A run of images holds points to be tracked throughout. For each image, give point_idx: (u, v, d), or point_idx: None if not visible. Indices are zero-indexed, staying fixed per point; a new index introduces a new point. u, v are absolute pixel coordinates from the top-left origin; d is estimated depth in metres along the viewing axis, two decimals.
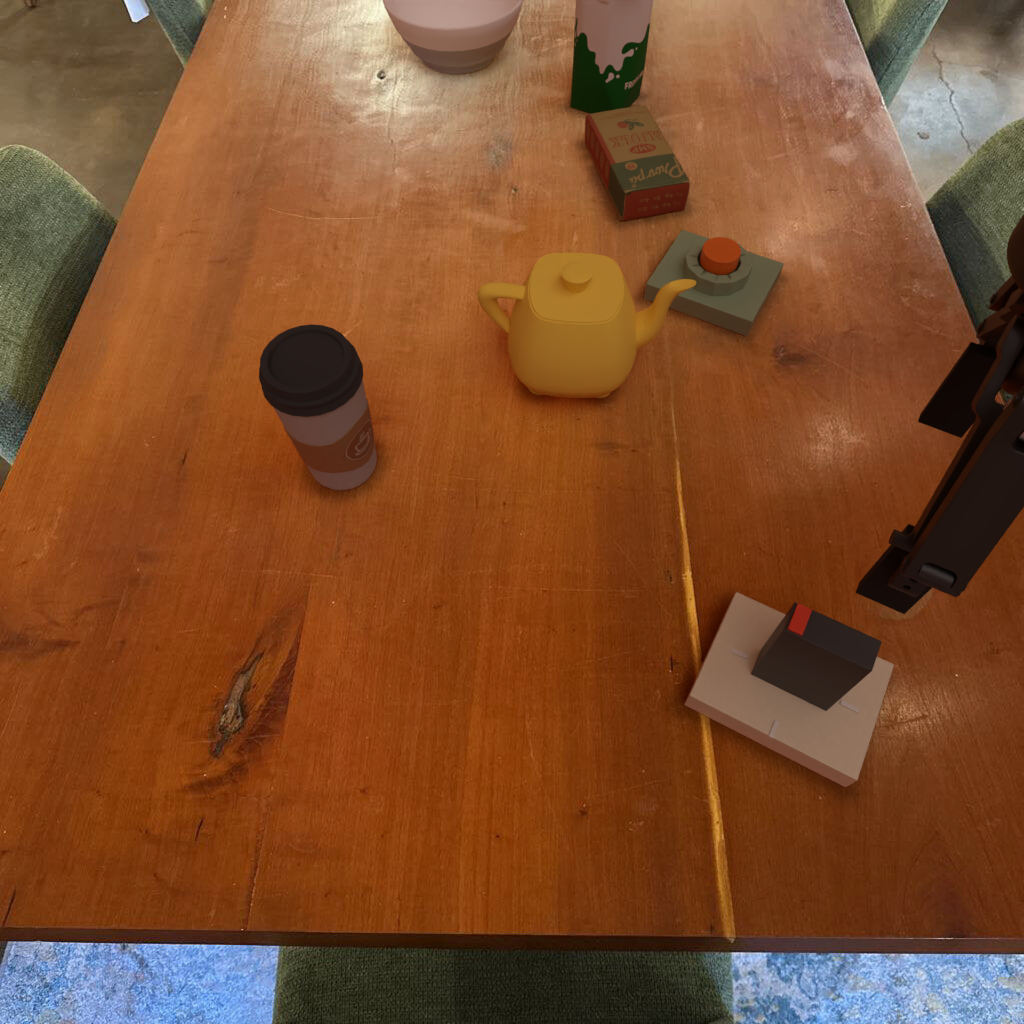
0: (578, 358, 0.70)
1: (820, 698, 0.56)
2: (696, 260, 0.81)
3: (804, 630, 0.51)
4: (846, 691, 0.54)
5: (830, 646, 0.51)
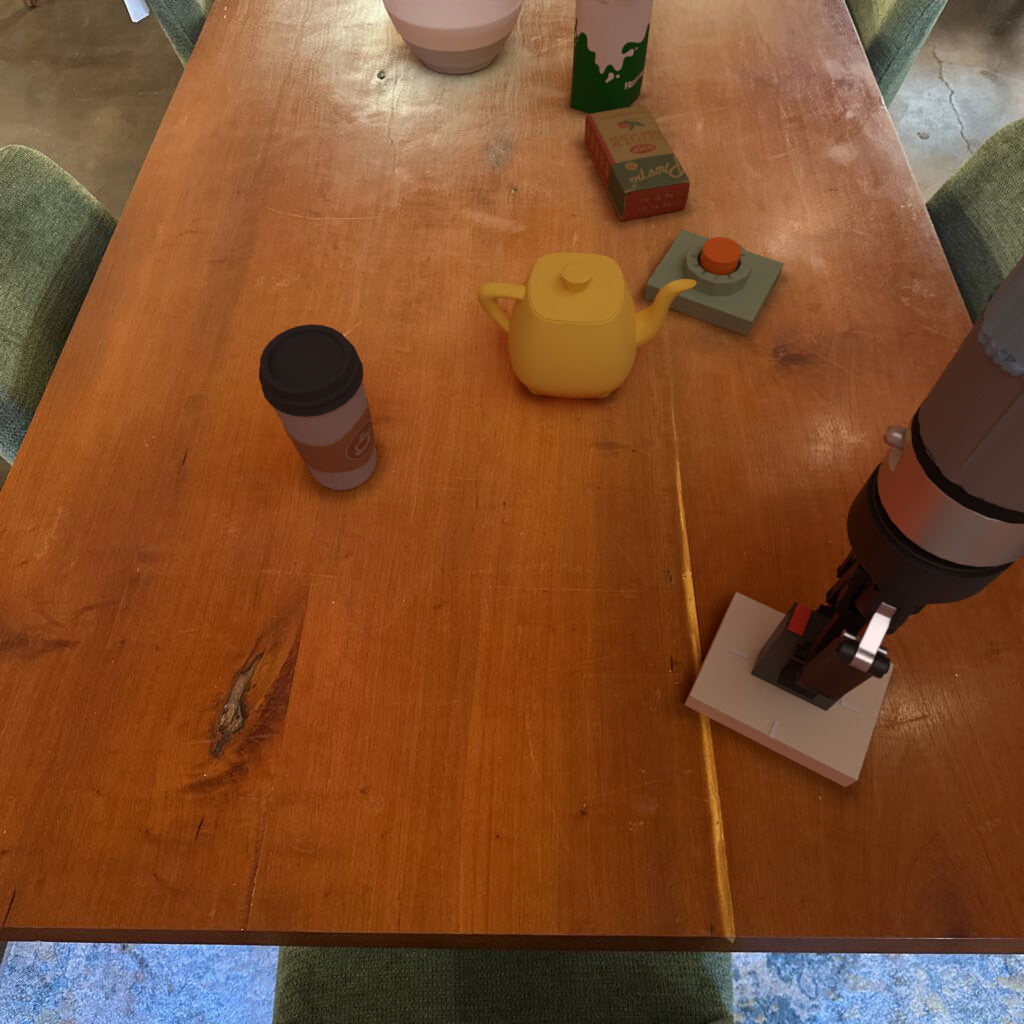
0: (578, 358, 0.70)
1: (820, 698, 0.56)
2: (696, 260, 0.81)
3: (804, 630, 0.51)
4: None
5: None
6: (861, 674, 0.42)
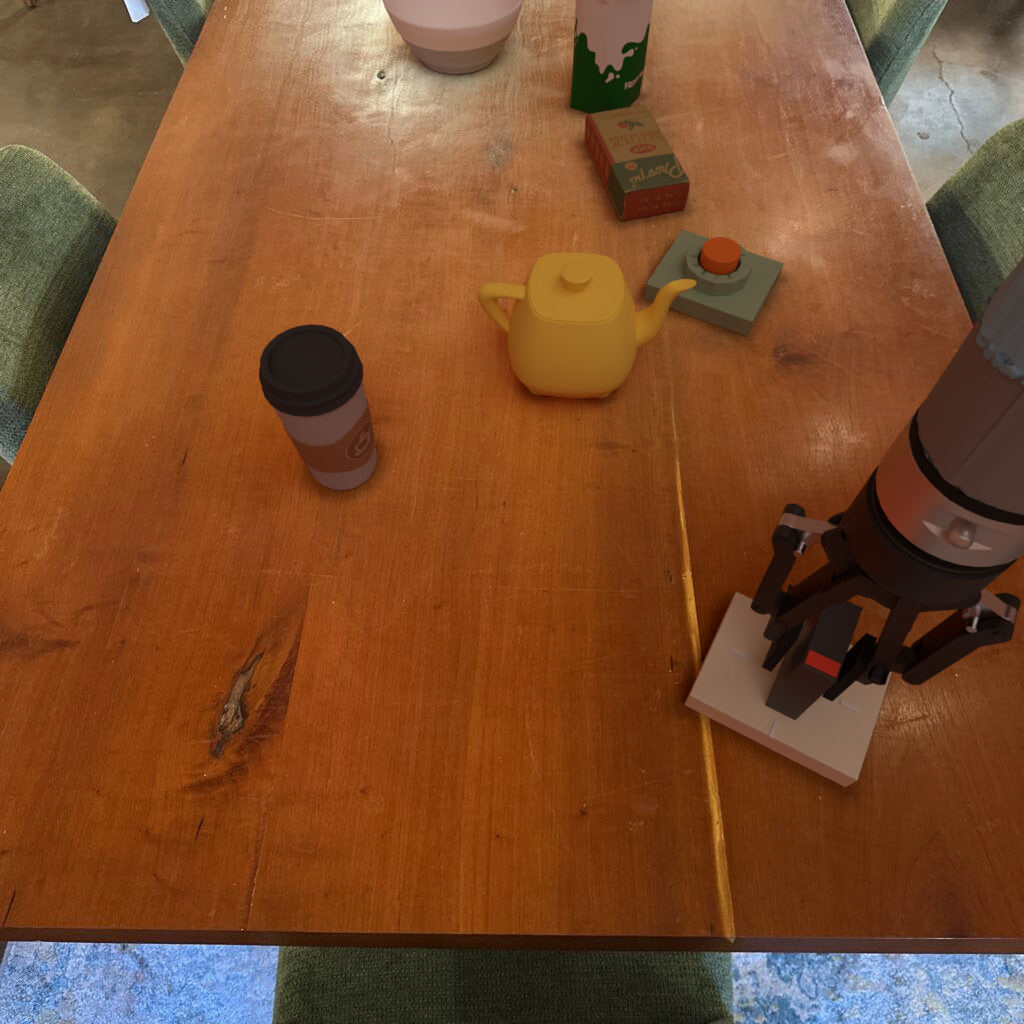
0: (578, 358, 0.70)
1: None
2: (696, 260, 0.81)
3: (834, 661, 0.50)
4: None
5: (844, 640, 0.51)
6: None
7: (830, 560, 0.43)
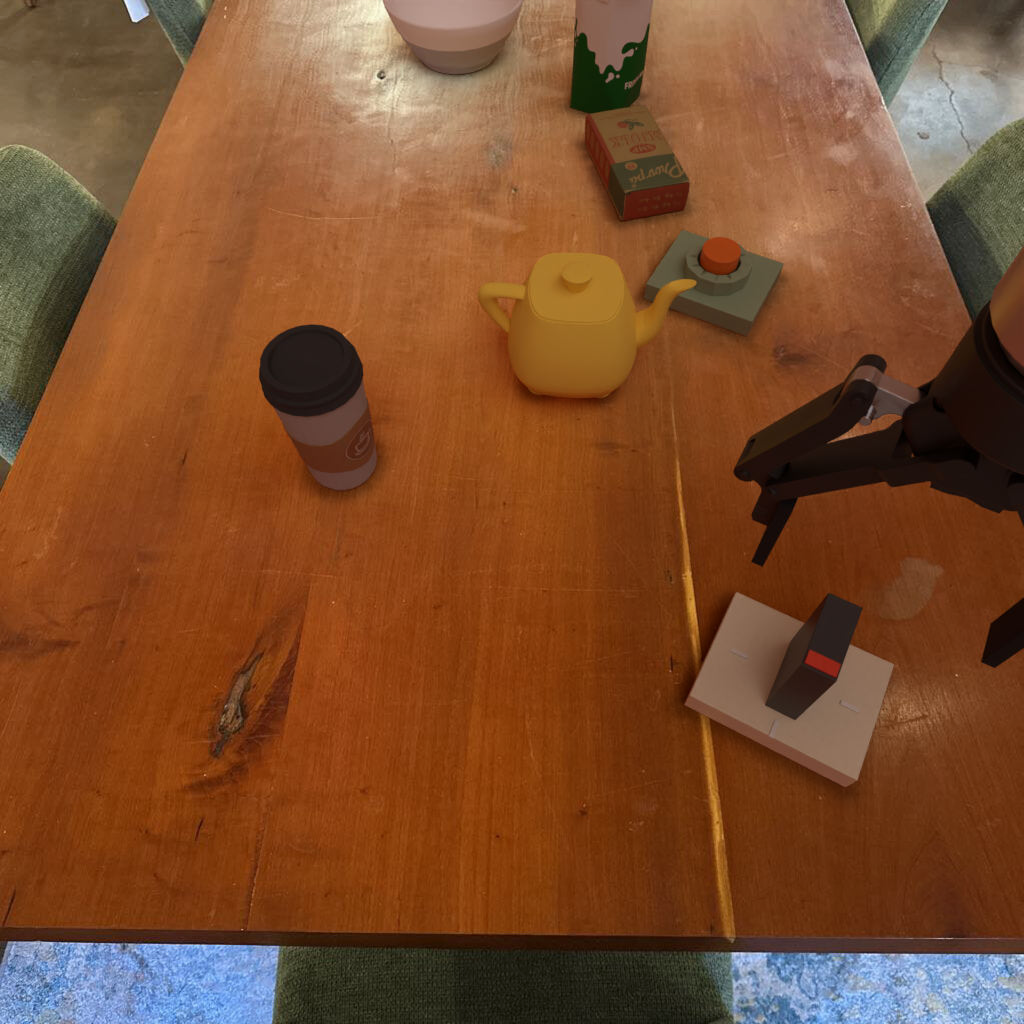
0: (578, 358, 0.70)
1: None
2: (696, 260, 0.81)
3: (834, 661, 0.50)
4: None
5: (844, 640, 0.51)
6: None
7: (913, 446, 0.34)
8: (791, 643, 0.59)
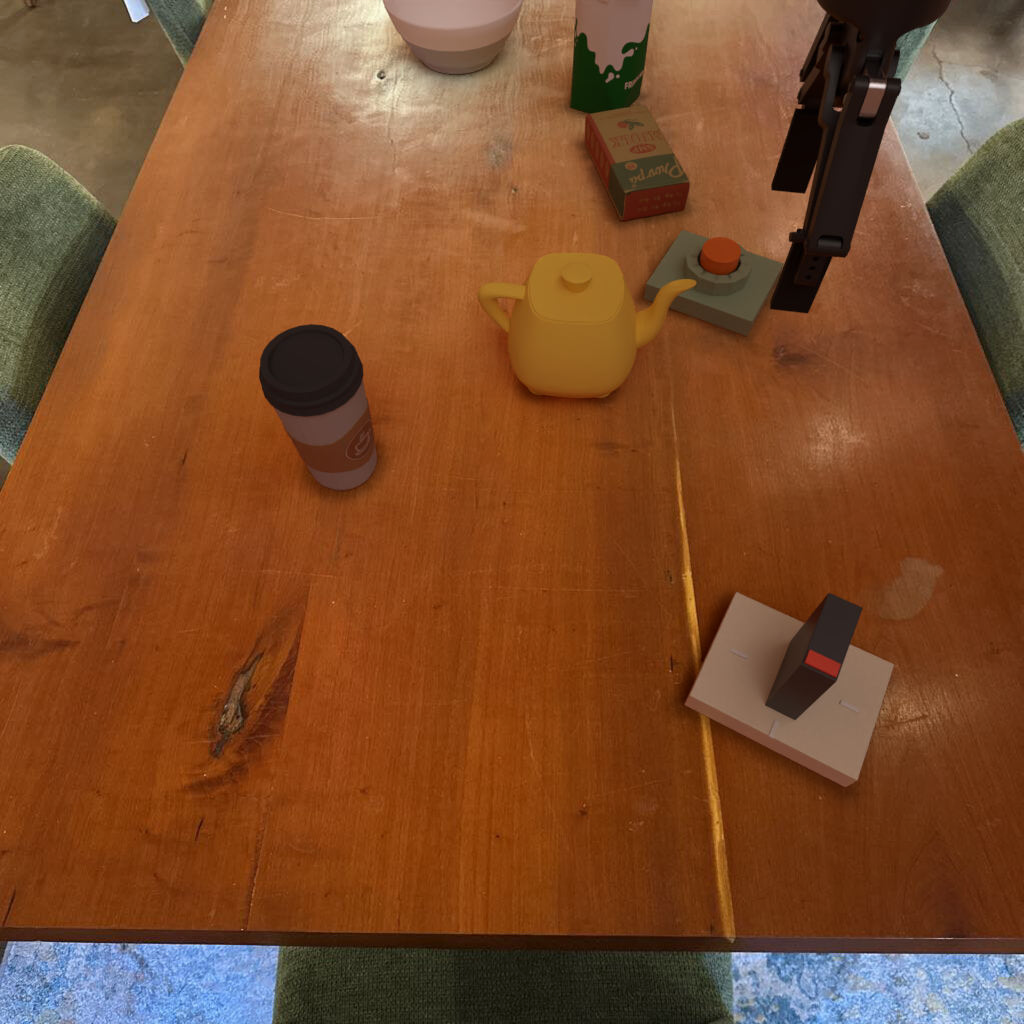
0: (578, 358, 0.70)
1: None
2: (696, 260, 0.81)
3: (834, 661, 0.50)
4: None
5: (844, 640, 0.51)
6: (874, 135, 0.43)
7: None
8: (791, 643, 0.59)
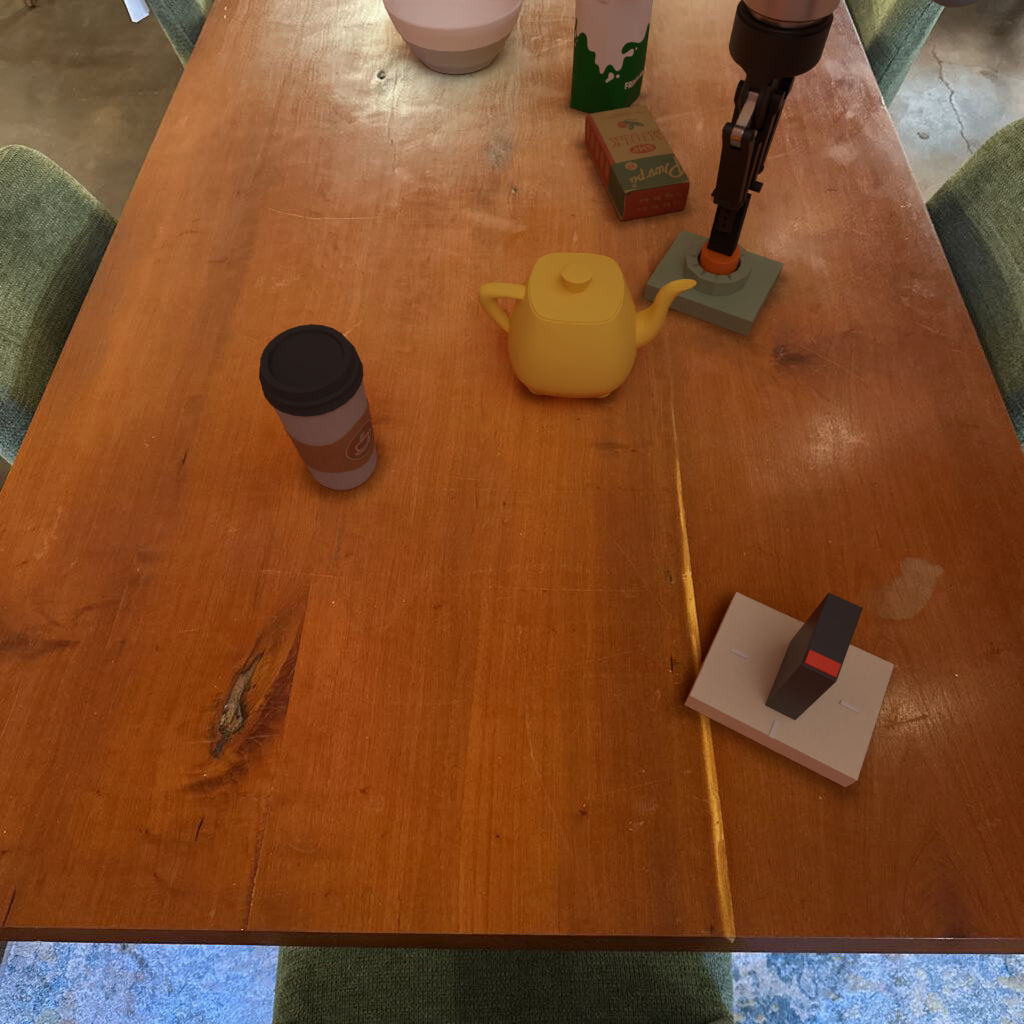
0: (578, 358, 0.70)
1: None
2: (696, 260, 0.81)
3: (834, 661, 0.50)
4: None
5: (844, 640, 0.51)
6: (742, 156, 0.66)
7: None
8: (791, 643, 0.59)
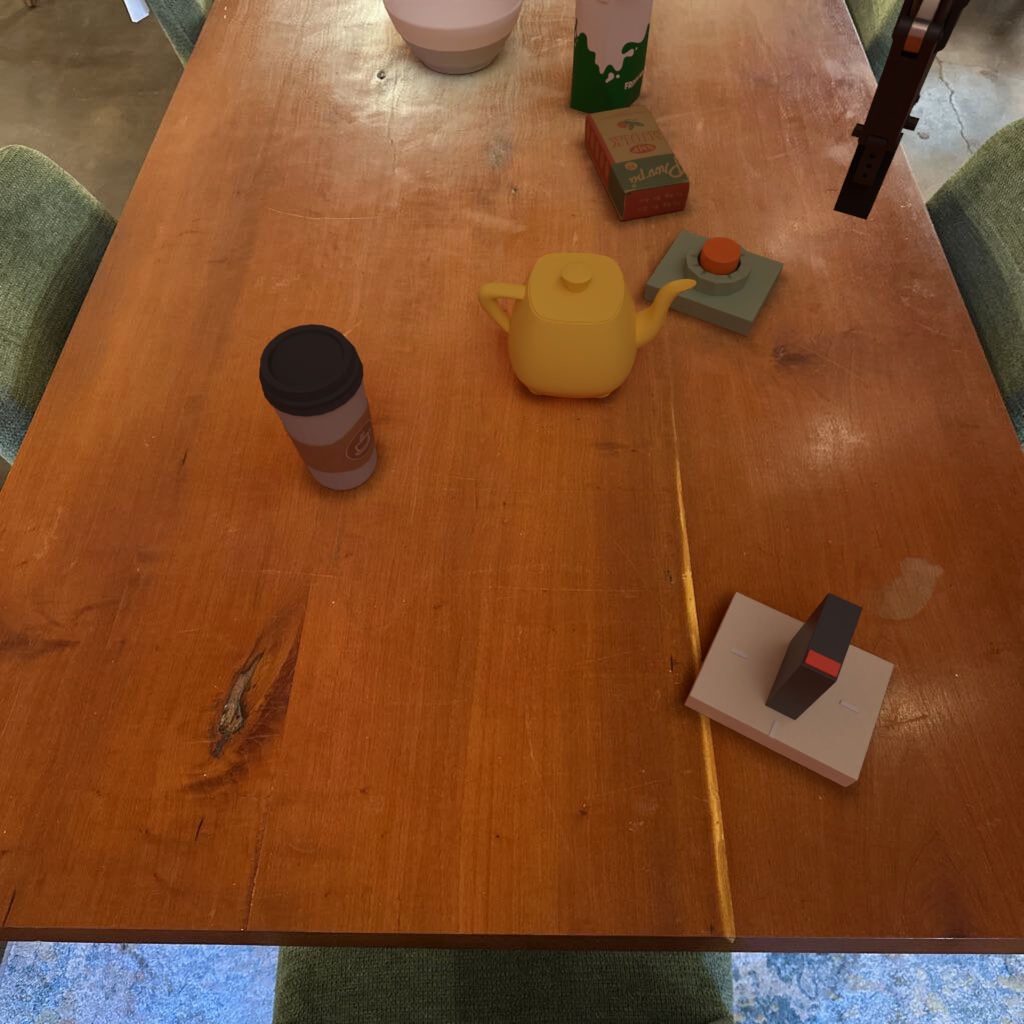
0: (578, 358, 0.70)
1: None
2: (696, 260, 0.81)
3: (834, 661, 0.50)
4: None
5: (844, 640, 0.51)
6: (917, 67, 0.48)
7: None
8: (791, 643, 0.59)
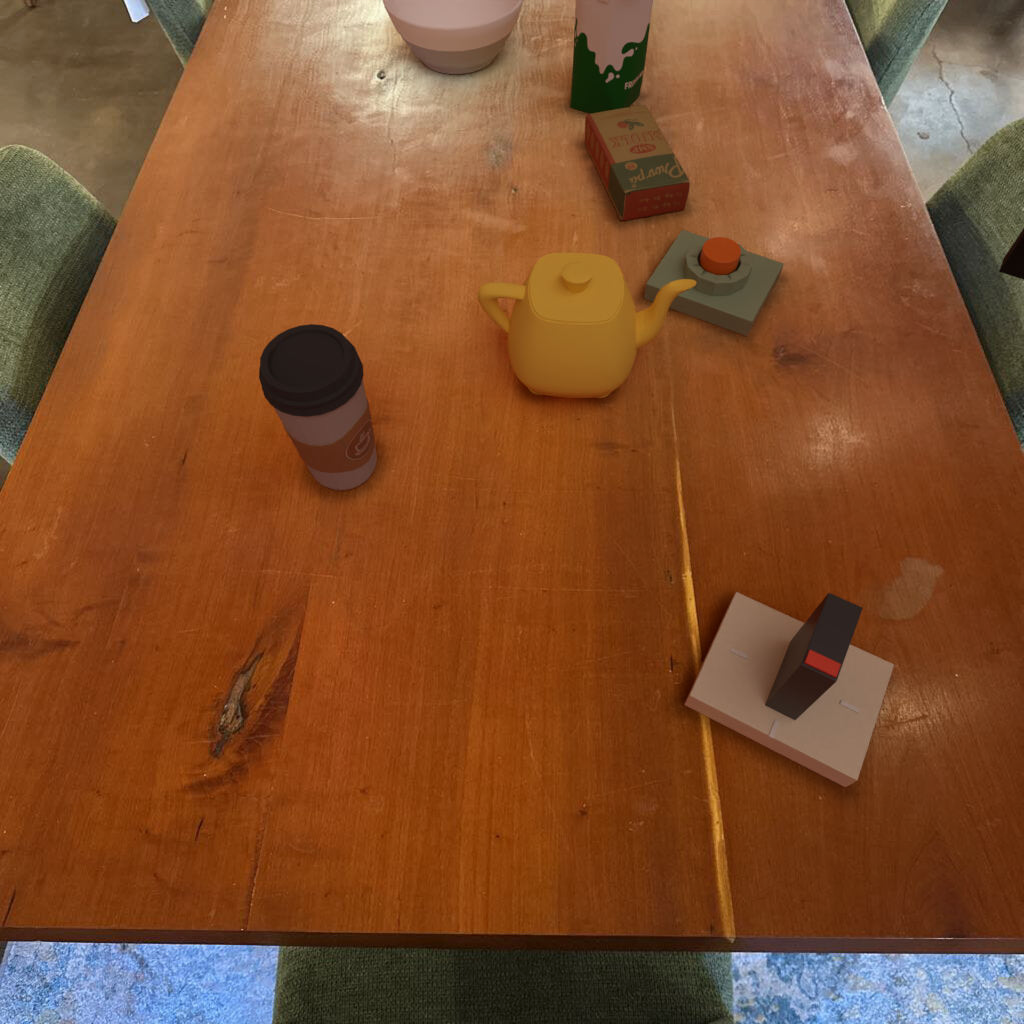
0: (578, 358, 0.70)
1: None
2: (696, 260, 0.81)
3: (834, 661, 0.50)
4: None
5: (844, 640, 0.51)
6: None
7: None
8: (791, 643, 0.59)
